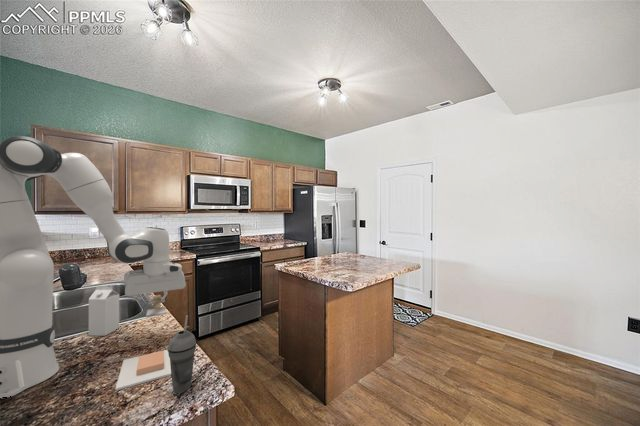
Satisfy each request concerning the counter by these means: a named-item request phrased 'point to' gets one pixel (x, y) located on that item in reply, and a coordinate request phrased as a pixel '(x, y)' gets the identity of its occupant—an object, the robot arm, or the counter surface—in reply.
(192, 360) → the beverage cup
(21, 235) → the robot arm
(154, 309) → the turner
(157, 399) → the counter surface
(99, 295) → the milk carton
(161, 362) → the tile
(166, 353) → the mat
